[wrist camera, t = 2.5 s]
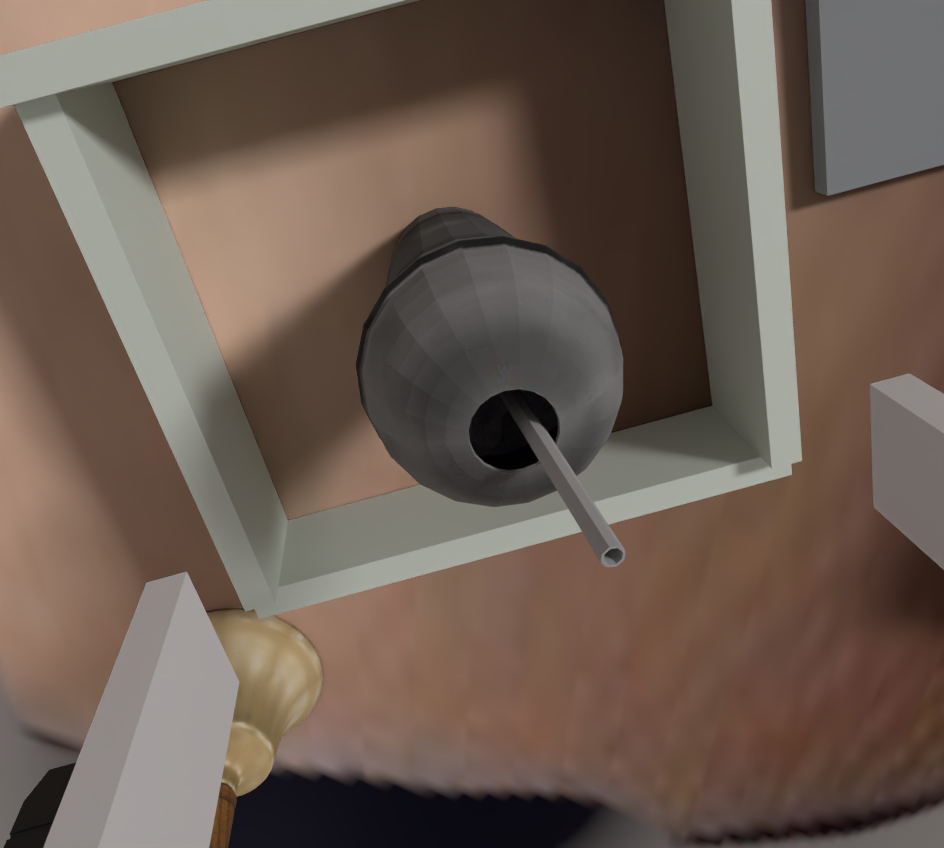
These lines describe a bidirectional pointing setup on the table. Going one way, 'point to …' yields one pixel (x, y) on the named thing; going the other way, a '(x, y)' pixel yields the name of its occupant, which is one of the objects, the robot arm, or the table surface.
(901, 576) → the table surface
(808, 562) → the table surface
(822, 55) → the slate tile
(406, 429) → the beverage cup
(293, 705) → the hand bell
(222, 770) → the robot arm
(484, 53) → the table surface
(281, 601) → the frame
